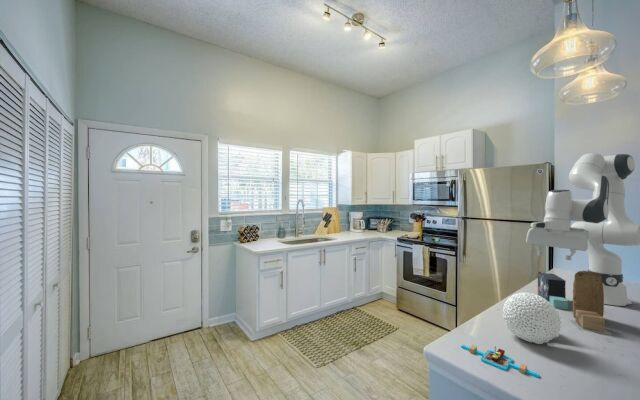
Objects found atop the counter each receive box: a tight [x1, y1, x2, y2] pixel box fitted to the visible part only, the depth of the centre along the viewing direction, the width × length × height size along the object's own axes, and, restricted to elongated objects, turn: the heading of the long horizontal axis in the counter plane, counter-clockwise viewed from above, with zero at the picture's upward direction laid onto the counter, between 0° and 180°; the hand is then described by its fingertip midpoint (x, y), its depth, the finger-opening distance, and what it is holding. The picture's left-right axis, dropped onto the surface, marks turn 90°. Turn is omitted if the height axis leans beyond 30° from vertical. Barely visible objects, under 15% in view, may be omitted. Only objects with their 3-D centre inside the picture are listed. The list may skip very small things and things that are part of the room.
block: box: [572, 270, 605, 319], centre depth 108 cm, size 11×8×20 cm
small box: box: [537, 272, 567, 302], centre depth 132 cm, size 13×7×12 cm, turn 159°
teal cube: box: [550, 296, 569, 311], centre depth 120 cm, size 5×5×5 cm
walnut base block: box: [575, 310, 606, 332], centre depth 101 cm, size 6×6×5 cm
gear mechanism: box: [460, 344, 540, 379], centre depth 81 cm, size 20×5×9 cm
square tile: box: [569, 319, 613, 336], centre depth 101 cm, size 9×9×1 cm
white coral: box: [502, 291, 562, 345], centre depth 96 cm, size 20×18×16 cm
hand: (553, 257), depth 116 cm, fingers open, 8 cm apart
